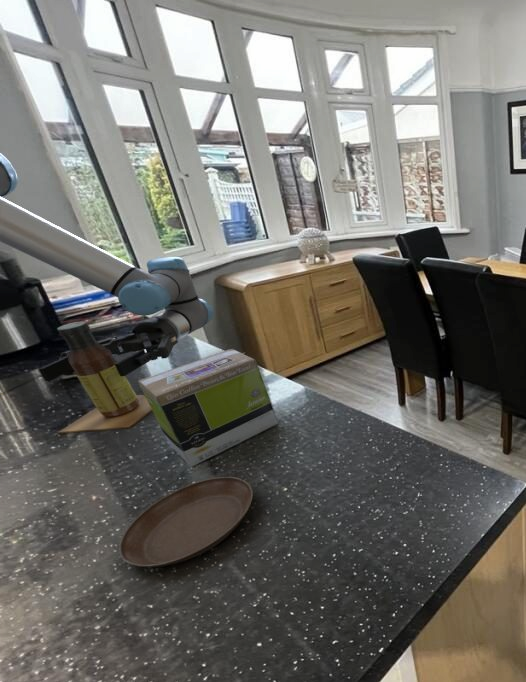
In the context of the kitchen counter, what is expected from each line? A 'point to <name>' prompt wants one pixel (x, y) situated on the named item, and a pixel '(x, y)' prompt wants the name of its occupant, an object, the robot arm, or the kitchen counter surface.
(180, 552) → the saucer
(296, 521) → the kitchen counter surface
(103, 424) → the cork mat
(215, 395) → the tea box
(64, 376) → the pastry
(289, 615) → the kitchen counter surface
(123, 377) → the sauce bottle
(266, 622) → the kitchen counter surface
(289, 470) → the kitchen counter surface
